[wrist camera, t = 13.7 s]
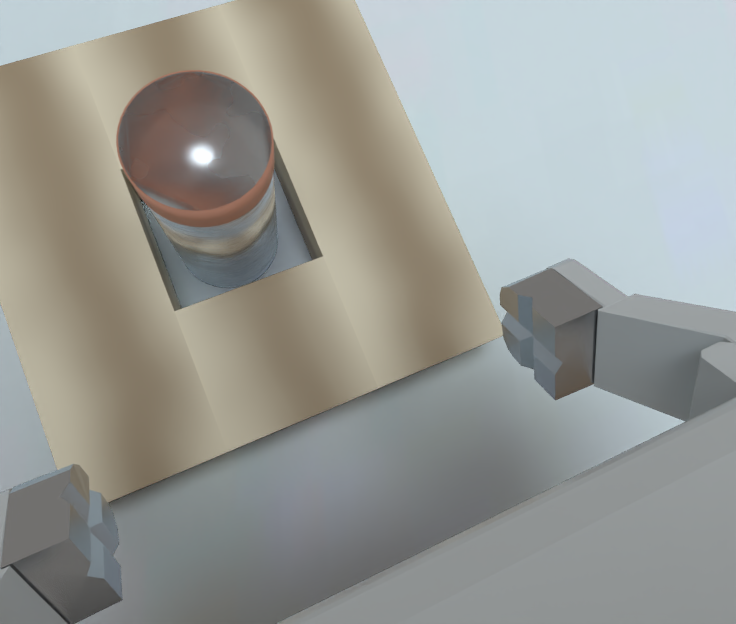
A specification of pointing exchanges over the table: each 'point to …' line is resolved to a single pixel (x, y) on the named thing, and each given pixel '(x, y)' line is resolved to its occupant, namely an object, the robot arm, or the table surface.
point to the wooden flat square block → (241, 305)
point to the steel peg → (204, 172)
